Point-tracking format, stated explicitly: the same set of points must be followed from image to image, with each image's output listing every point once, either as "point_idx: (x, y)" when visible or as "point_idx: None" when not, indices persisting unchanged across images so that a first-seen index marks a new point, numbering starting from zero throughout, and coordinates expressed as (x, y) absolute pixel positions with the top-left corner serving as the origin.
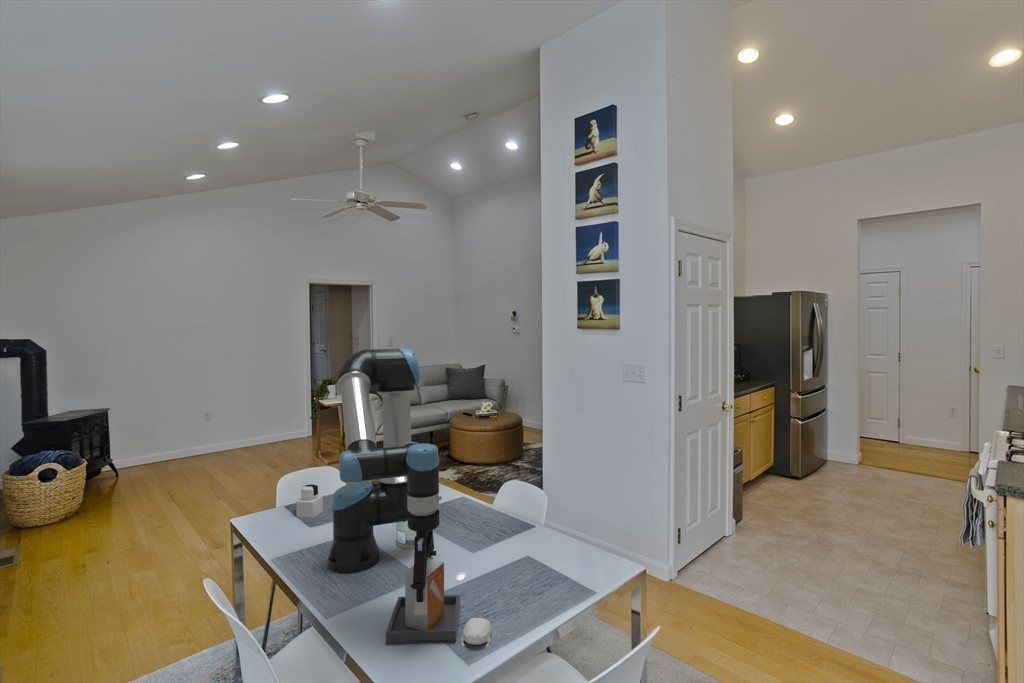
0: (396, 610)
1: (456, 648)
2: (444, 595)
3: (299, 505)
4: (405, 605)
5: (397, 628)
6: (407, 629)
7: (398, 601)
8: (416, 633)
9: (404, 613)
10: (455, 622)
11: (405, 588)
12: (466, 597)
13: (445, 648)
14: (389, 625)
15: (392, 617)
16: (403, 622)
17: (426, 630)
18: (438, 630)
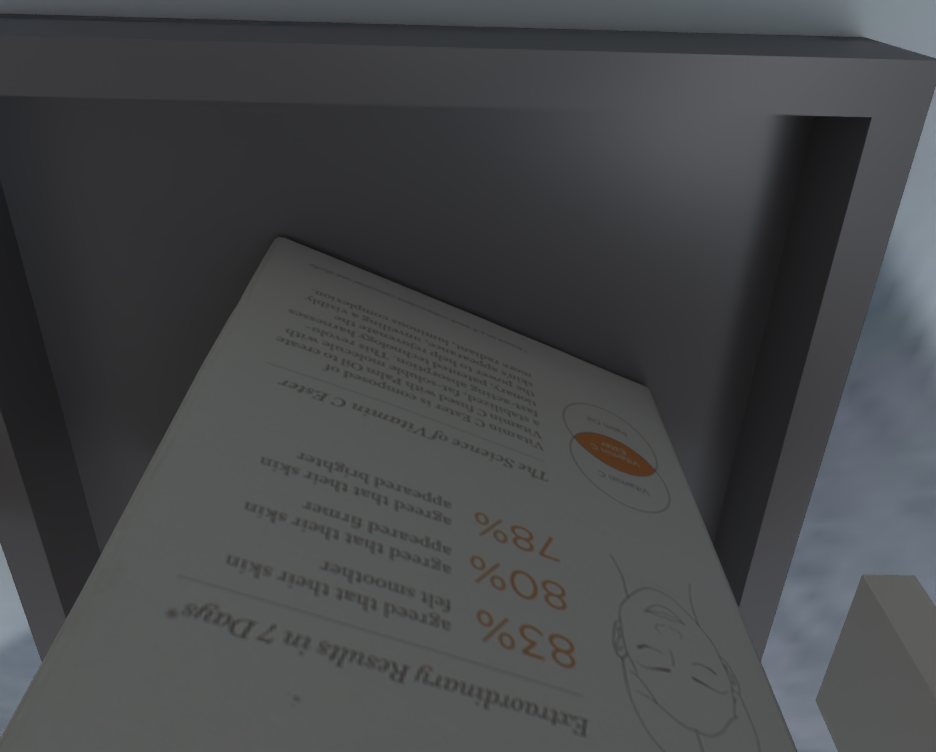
0: (494, 98)
1: (27, 670)
2: (759, 639)
3: None
4: (198, 376)
5: (235, 131)
6: (224, 263)
7: (781, 85)
8: None
9: (595, 173)
10: None
11: (61, 627)
12: (812, 704)
13: (9, 604)
14: (53, 55)
15: (284, 66)
16: (376, 191)
17: (30, 534)
18: (51, 634)
